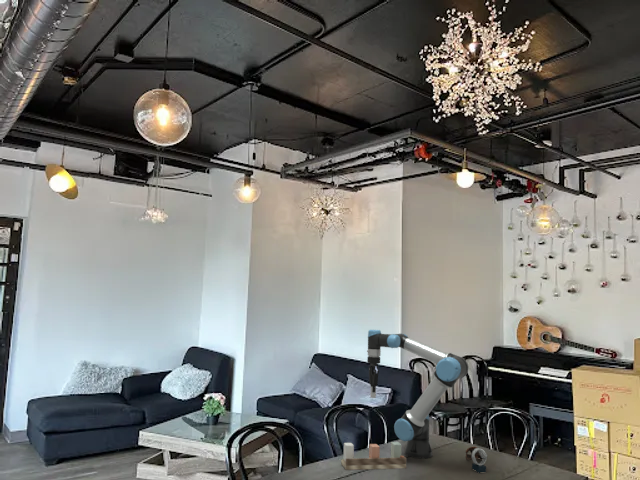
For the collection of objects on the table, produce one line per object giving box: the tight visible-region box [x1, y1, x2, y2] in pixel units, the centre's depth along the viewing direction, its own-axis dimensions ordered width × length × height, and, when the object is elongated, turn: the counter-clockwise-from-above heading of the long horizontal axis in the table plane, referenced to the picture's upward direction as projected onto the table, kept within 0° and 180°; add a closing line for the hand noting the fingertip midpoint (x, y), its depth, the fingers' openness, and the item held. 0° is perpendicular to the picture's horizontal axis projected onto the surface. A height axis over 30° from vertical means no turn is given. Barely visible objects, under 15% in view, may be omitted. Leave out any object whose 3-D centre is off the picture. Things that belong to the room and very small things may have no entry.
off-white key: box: [343, 442, 355, 462], centre depth 245 cm, size 4×5×8 cm
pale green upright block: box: [390, 441, 402, 458], centre depth 250 cm, size 4×5×8 cm
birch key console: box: [340, 454, 407, 471], centre depth 245 cm, size 32×10×6 cm, turn 101°
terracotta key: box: [368, 443, 381, 458], centre depth 244 cm, size 4×5×8 cm
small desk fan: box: [471, 447, 488, 474], centre depth 243 cm, size 6×8×11 cm
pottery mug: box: [465, 446, 483, 461], centre depth 261 cm, size 12×10×8 cm
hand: (373, 397), depth 274 cm, fingers closed
